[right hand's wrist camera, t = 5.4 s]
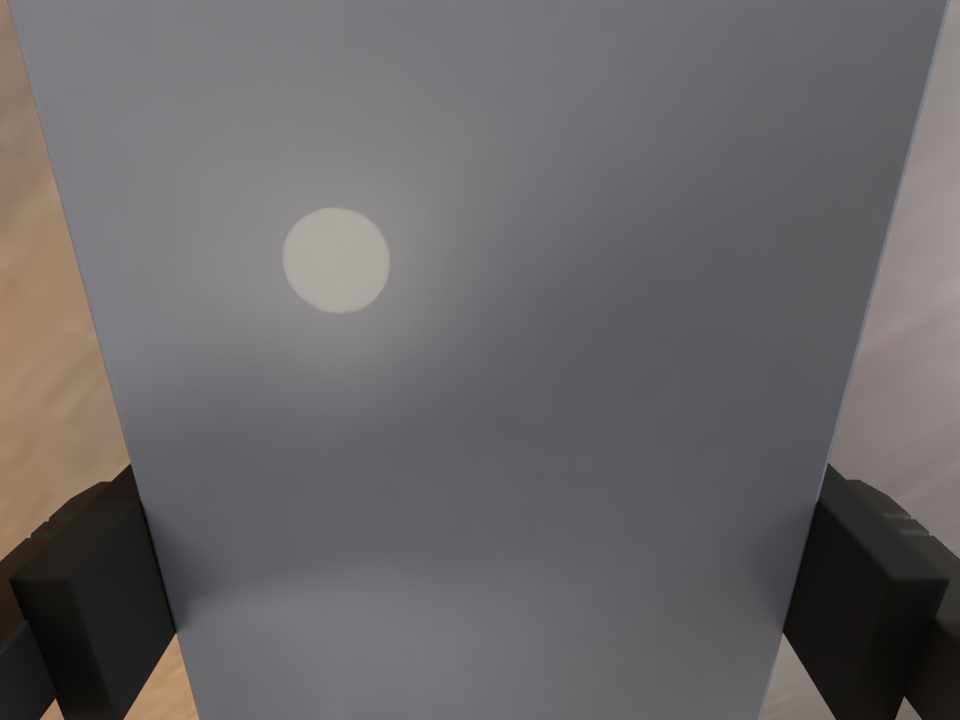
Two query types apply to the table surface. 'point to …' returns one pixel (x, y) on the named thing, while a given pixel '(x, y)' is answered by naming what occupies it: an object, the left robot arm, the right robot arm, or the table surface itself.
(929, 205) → the table surface
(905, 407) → the table surface
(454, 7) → the cabinet
